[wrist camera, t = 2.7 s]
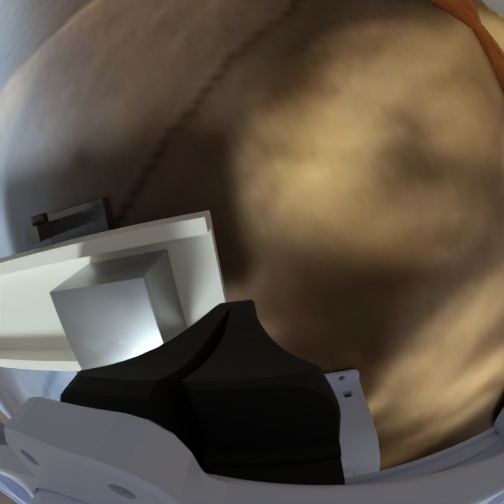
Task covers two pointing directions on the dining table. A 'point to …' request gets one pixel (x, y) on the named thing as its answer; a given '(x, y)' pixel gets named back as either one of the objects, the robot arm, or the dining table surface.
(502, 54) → the kendama
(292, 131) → the dining table surface
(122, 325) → the block
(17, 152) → the dining table surface
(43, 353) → the balance beam
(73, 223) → the beam stand
